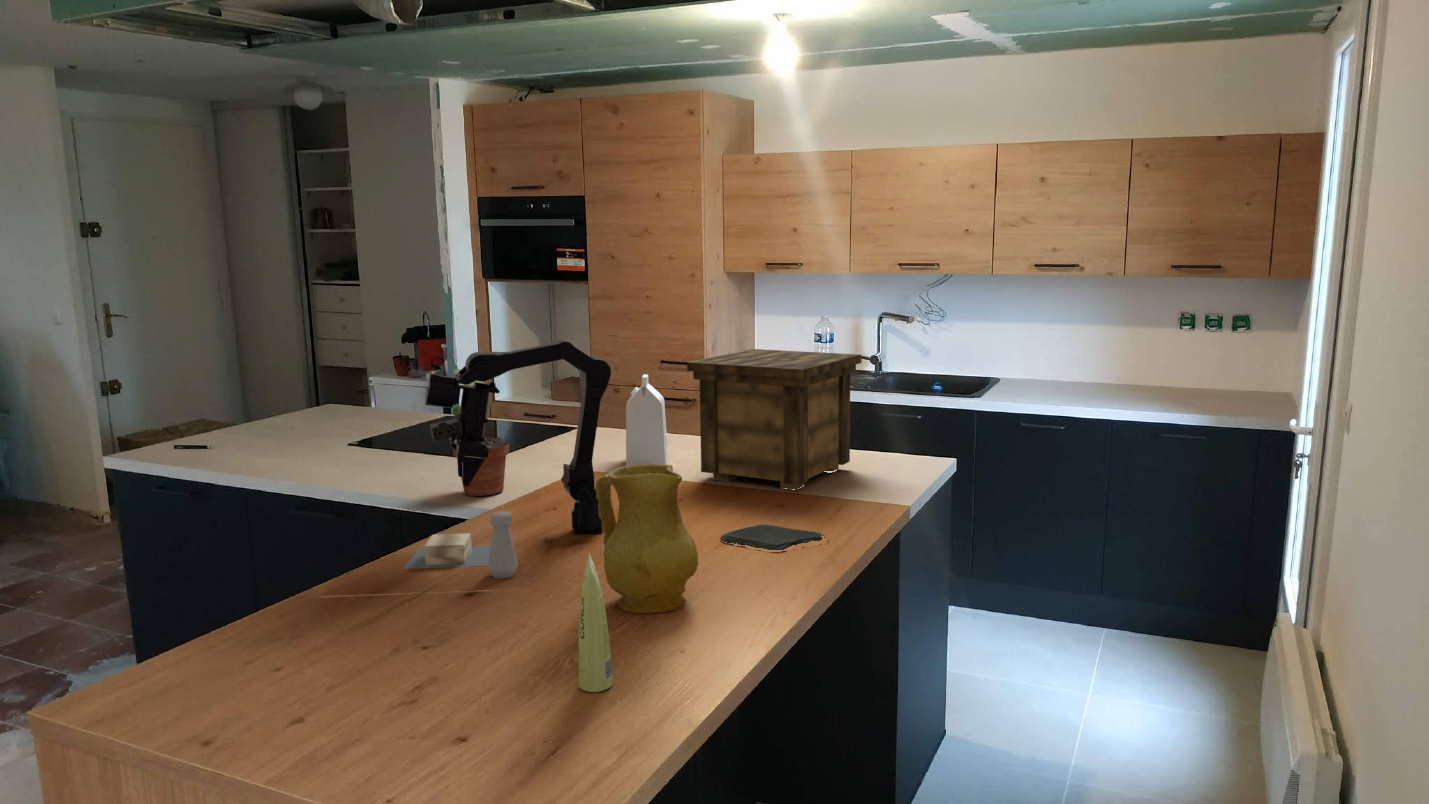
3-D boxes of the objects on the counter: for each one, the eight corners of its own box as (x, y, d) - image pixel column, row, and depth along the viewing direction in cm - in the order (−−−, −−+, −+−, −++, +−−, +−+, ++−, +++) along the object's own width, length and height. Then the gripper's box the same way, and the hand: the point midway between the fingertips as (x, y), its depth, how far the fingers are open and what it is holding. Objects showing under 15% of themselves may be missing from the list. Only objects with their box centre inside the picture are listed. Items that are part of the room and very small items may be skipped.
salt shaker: (511, 582, 194) (508, 517, 192) (483, 580, 195) (480, 516, 193) (522, 572, 200) (519, 509, 198) (496, 570, 201) (492, 508, 199)
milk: (665, 467, 290) (663, 378, 285) (626, 467, 290) (623, 379, 286) (668, 458, 302) (666, 372, 297) (630, 458, 302) (627, 373, 297)
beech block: (471, 551, 213) (470, 533, 212) (464, 563, 205) (463, 544, 204) (433, 552, 212) (432, 534, 212) (425, 564, 204) (424, 546, 204)
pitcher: (626, 624, 171) (623, 480, 168) (588, 596, 187) (585, 464, 185) (715, 609, 178) (713, 471, 176) (671, 583, 195) (669, 456, 192)
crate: (689, 480, 273) (687, 362, 268) (754, 456, 302) (752, 348, 297) (803, 496, 254) (803, 369, 249) (860, 469, 283) (861, 354, 278)
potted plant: (441, 498, 259) (432, 364, 253) (476, 484, 273) (468, 357, 267) (491, 503, 253) (484, 366, 247) (524, 488, 267) (518, 358, 261)
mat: (503, 546, 217) (503, 544, 217) (493, 567, 203) (492, 565, 203) (419, 549, 216) (419, 547, 216) (403, 570, 202) (403, 568, 202)
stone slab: (718, 555, 210) (718, 546, 209) (721, 532, 226) (721, 523, 226) (832, 555, 209) (832, 546, 208) (826, 531, 225) (826, 523, 225)
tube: (569, 686, 148) (563, 559, 145) (594, 674, 152) (589, 551, 149) (595, 696, 145) (590, 567, 142) (620, 684, 149) (616, 558, 145)
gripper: (431, 399, 221) (421, 468, 222) (438, 413, 203) (428, 487, 205) (482, 406, 225) (472, 473, 226) (493, 419, 207) (482, 492, 209)
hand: (463, 481), depth 216 cm, fingers open, 9 cm apart
